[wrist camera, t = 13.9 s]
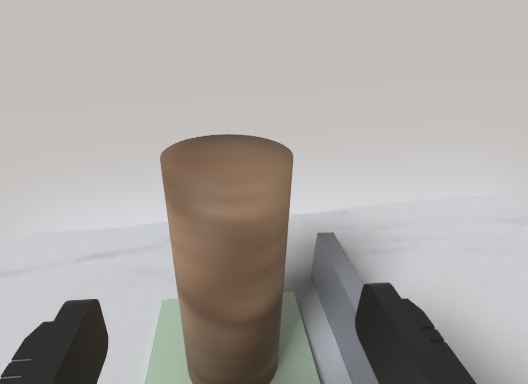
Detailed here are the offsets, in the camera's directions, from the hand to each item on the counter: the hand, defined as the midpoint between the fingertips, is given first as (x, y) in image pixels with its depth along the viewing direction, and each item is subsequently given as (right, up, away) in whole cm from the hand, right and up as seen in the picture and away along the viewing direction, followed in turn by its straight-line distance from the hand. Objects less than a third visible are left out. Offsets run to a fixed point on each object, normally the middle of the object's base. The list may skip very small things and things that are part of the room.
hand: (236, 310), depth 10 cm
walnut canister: (-1, -6, +8) cm, 10 cm away
